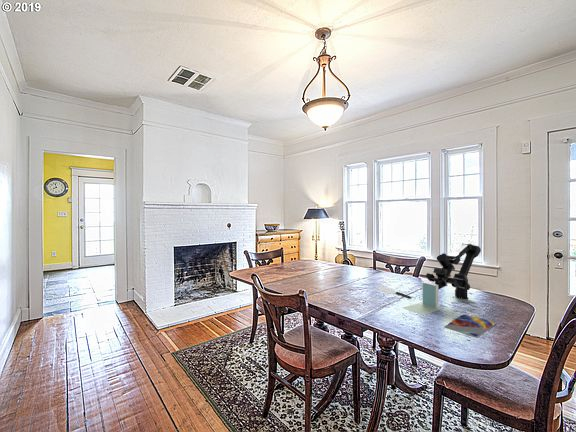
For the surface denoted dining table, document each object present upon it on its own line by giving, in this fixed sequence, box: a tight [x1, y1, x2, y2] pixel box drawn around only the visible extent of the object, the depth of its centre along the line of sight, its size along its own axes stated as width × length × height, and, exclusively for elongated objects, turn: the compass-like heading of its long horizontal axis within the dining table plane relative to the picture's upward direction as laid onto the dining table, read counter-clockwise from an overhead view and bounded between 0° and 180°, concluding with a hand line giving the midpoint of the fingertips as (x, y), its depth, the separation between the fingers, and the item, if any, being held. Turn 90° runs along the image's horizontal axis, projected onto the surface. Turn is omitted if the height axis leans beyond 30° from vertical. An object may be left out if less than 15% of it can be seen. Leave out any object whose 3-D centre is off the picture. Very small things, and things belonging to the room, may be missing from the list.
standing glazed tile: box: [422, 281, 439, 308], centre depth 174 cm, size 3×9×14 cm, turn 29°
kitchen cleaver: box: [375, 285, 413, 300], centre depth 203 cm, size 31×2×10 cm
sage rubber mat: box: [402, 301, 444, 316], centre depth 171 cm, size 20×14×1 cm
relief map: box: [443, 314, 497, 338], centre depth 146 cm, size 25×15×2 cm, turn 127°
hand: (435, 290), depth 177 cm, fingers closed
